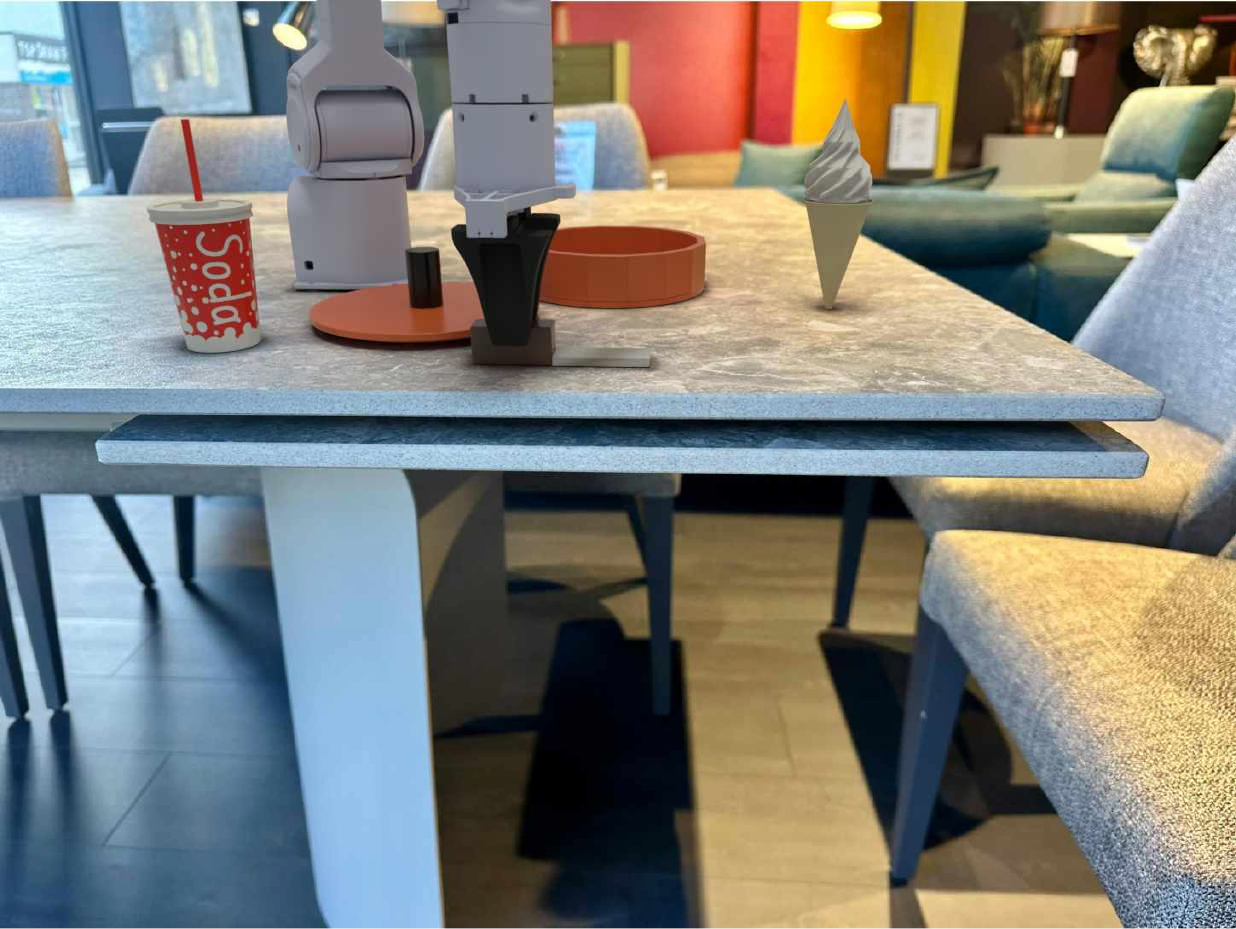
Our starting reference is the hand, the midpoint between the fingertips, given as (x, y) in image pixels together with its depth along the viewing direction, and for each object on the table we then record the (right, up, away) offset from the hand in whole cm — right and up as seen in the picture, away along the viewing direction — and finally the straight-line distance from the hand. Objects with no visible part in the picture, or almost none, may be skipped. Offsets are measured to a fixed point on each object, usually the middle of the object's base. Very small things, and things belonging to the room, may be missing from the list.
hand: (513, 338), depth 56 cm
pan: (+6, +7, +21) cm, 23 cm away
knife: (+3, -1, 0) cm, 3 cm away
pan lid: (-7, +3, +10) cm, 13 cm away
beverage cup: (-20, 0, +4) cm, 20 cm away
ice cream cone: (+23, +4, +13) cm, 27 cm away
